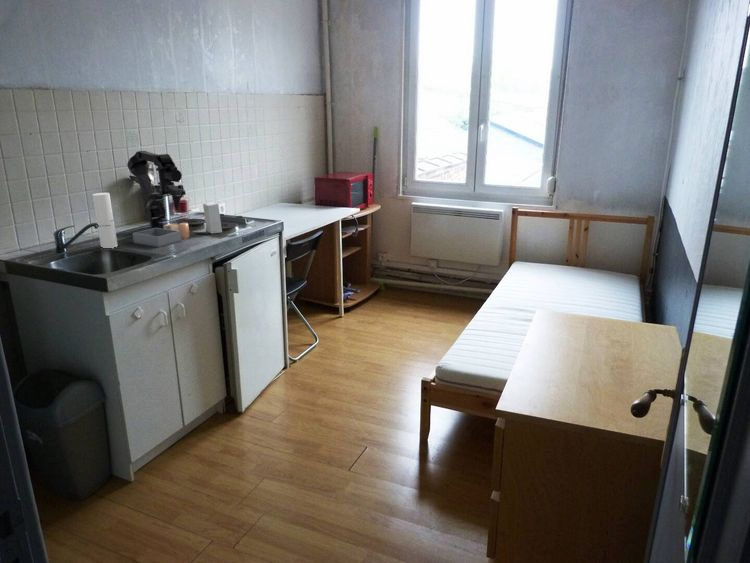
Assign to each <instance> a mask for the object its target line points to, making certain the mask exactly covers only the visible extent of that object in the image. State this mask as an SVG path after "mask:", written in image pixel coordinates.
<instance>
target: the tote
mask: <svg viewBox="0 0 750 563" xmlns="http://www.w3.org/2000/svg"><path fill="white" fill-rule="evenodd" d="M182 240H183V239H181V232H180V231H176V230H169V229H164V228H163V229H162V228H152V229H150V228H148V229H144V230H140V231H136V232H133V233H132V241H133V244H136V245H142V246H149V247H152V248H153V247H154V248H163V247H166V246H169V245H173V244H176V243H180V242H182Z"/></svg>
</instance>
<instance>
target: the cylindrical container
mask: <svg viewBox="0 0 750 563" xmlns="http://www.w3.org/2000/svg"><path fill="white" fill-rule="evenodd" d="M91 197H92V200H93V206H94V213H95V214H94V215H95V220H96V224H98V225H99V227H98V226H97V231H98V236H99V241H100V242H99V244H100V248H101V247H103V248H112V249H115V248H114V247H116V248H118V247H117V246H118V239H117V233H116V226H115V220H114V214H113V208H112V201H111V194H110V192H97V193H92V196H91Z"/></svg>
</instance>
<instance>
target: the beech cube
mask: <svg viewBox="0 0 750 563" xmlns="http://www.w3.org/2000/svg"><path fill="white" fill-rule="evenodd" d="M178 224H179V223H177V224H176V223H170V224H163V229H169V230H176V231H178Z"/></svg>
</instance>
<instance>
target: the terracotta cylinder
mask: <svg viewBox="0 0 750 563" xmlns="http://www.w3.org/2000/svg"><path fill="white" fill-rule="evenodd" d="M177 224H178V231H180V232H181V240H184V239H185V240H186V239H189V238H191V236H190V235H191V234H190V228H189V223H188V222H181V223H180V222H179V223H177Z"/></svg>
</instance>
